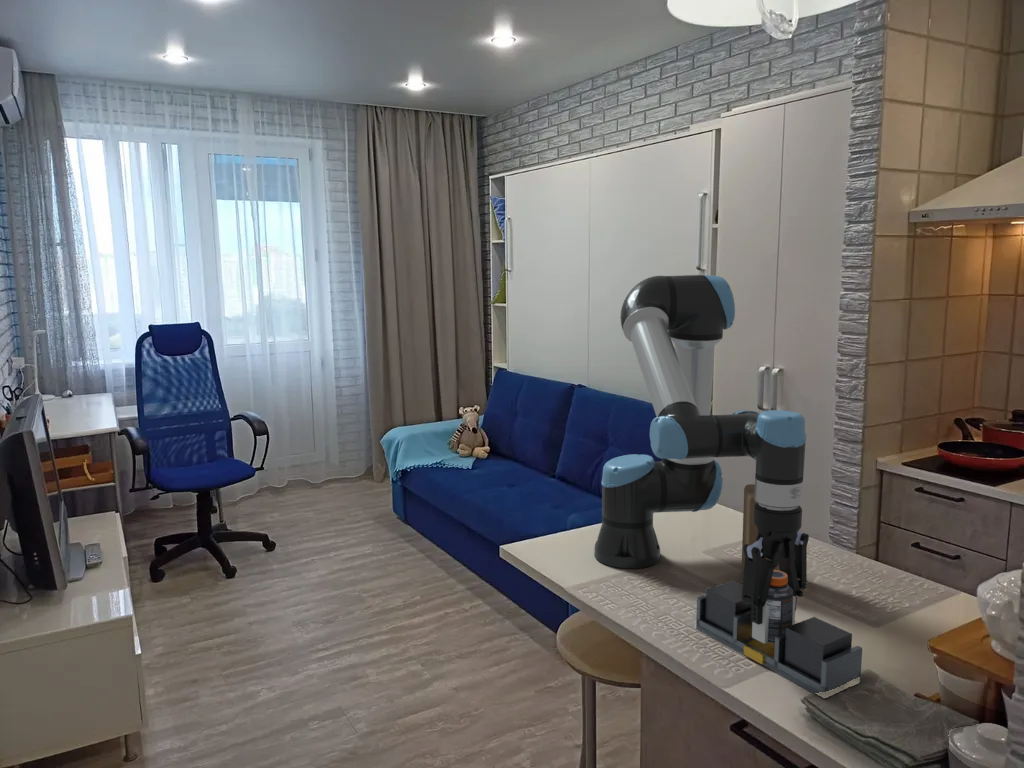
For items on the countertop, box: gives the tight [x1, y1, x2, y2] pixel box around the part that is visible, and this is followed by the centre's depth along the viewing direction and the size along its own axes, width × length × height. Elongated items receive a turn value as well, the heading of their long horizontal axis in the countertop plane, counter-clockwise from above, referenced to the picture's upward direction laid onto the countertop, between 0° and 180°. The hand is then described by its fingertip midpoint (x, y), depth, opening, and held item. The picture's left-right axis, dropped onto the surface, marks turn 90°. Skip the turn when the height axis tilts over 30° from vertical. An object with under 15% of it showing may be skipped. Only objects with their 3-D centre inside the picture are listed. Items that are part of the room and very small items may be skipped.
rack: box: [695, 580, 863, 694], centre depth 126 cm, size 27×9×8 cm, turn 31°
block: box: [741, 483, 800, 577], centre depth 155 cm, size 10×10×20 cm
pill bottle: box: [766, 570, 793, 644], centre depth 125 cm, size 6×6×11 cm
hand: (773, 634), depth 126 cm, fingers closed on pill bottle, 6 cm apart
